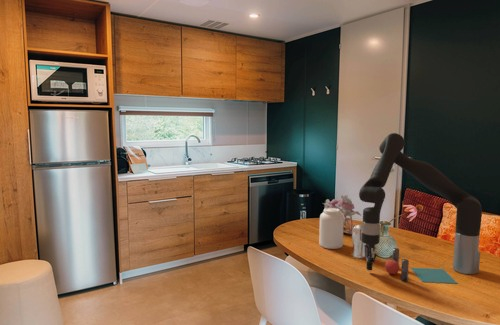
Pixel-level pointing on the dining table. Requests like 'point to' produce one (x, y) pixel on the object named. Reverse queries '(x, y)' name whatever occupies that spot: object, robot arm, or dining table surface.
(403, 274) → the post
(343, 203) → the flower
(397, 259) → the post
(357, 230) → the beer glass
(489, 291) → the dining table surface
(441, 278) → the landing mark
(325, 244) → the white jar
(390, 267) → the ball
